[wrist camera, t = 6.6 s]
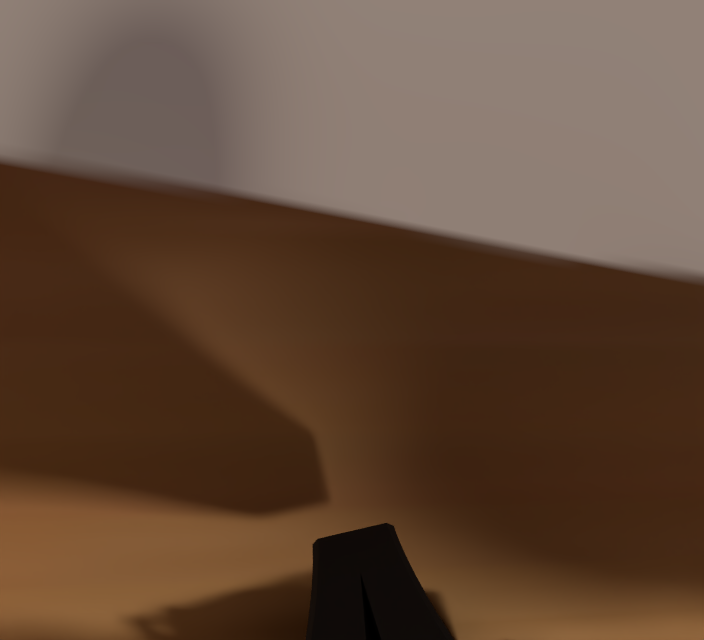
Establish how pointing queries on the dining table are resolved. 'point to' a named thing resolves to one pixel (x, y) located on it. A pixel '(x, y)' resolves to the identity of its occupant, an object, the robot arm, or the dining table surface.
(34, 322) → the dining table surface
